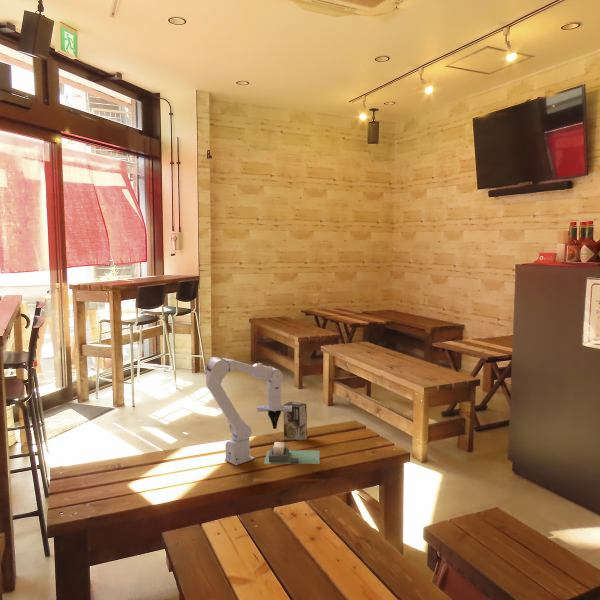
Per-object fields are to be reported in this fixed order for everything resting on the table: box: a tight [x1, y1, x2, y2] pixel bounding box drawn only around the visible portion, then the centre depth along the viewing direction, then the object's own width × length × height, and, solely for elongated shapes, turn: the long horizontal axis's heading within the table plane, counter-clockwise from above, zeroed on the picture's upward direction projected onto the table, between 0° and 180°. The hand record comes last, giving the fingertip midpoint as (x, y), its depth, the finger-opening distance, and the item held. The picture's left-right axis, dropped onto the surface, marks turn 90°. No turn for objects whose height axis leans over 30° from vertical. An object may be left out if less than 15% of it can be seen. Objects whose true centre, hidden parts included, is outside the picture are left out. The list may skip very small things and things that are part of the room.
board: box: [263, 445, 320, 465], centre depth 202 cm, size 22×14×4 cm, turn 88°
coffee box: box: [282, 401, 308, 441], centre depth 226 cm, size 9×6×16 cm
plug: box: [273, 441, 285, 455], centre depth 202 cm, size 7×4×5 cm, turn 177°
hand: (274, 428), depth 210 cm, fingers closed
